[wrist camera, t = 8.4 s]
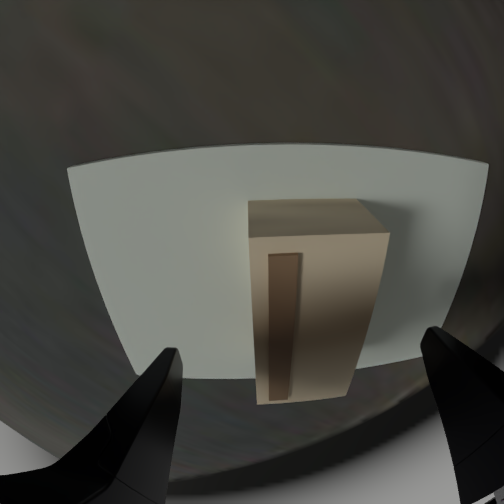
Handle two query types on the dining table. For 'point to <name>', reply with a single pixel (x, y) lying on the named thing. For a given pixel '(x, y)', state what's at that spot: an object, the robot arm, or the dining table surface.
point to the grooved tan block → (311, 293)
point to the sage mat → (237, 244)
